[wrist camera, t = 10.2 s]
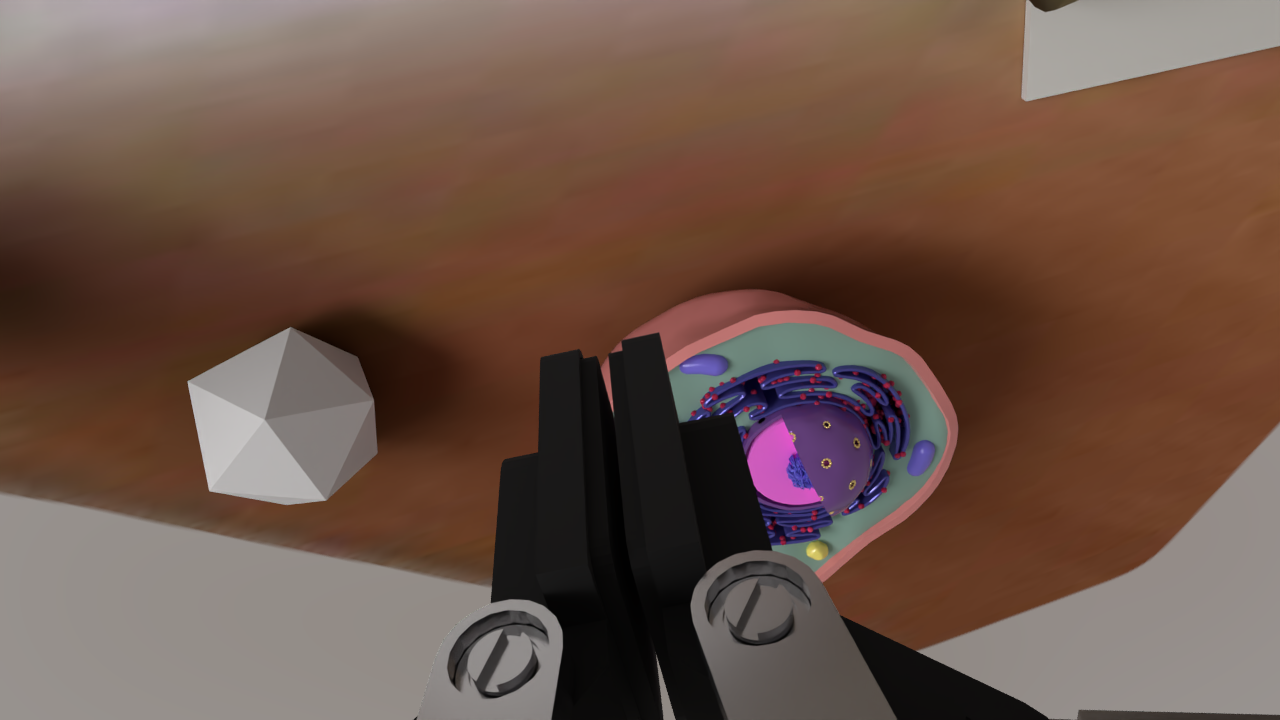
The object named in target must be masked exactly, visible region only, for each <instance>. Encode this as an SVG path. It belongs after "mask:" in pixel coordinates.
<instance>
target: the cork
mask: <svg viewBox="0 0 1280 720" xmlns="http://www.w3.org/2000/svg"><path fill="white" fill-rule="evenodd" d="M1029 1H1030V2H1031V3H1032V4H1033V5H1034V7H1036V8H1038V9H1040V10H1042V11H1044V12H1049V11H1053V10H1057V9H1059V8H1062V7H1064V6H1066V5H1069V4H1071V3H1073V2H1076V1H1078V0H1029Z"/></svg>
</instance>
